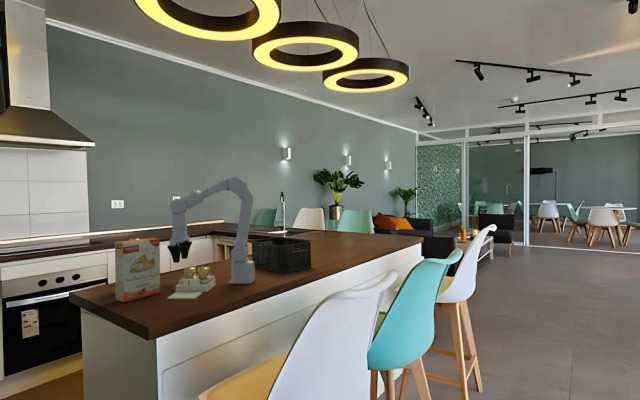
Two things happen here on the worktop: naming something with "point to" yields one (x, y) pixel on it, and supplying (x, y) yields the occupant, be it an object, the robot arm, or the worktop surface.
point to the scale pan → (201, 279)
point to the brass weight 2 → (203, 272)
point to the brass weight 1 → (189, 272)
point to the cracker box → (137, 268)
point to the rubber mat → (185, 295)
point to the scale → (195, 285)
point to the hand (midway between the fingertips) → (180, 260)
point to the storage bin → (281, 254)
